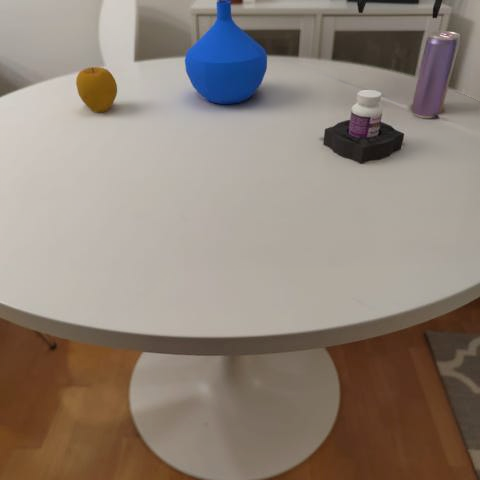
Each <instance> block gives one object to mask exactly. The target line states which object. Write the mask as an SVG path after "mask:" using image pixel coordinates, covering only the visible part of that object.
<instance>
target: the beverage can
mask: <svg viewBox="0 0 480 480" xmlns="http://www.w3.org/2000/svg"><path fill="white" fill-rule="evenodd" d="M460 39H461V34H460V33H458V32H455V31H449V30H435V31H429V33H428V37H427V38H426V41H425V45H424V49H423V54H422V59H421V63H420V68H419V72H418V77H417V81H416V85H415V91H414V95H413V100H412V104H411V109H410V110H411V113H412V115H413V116H415V117H417V118H419V119H421V118H422V119H435V118H437V117H439V115H438V114H441V113H442V112H443V107H444V103H445V99H446V96H447V93H448V88H449V85H450V81H451V77H452V73H453V70H454V67H455V66H454V65H455V61H456V58H457V55H458V51H459V47H460V43H461V41H460Z"/></svg>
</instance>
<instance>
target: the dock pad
mask: <svg viewBox="0 0 480 480" xmlns="http://www.w3.org/2000/svg"><path fill="white" fill-rule="evenodd" d="M349 125H350V119H346V120H343V121H340V122H337V123H336V124H334V125H333V126H330V127H327V128H324V135H323V145H324V146H326V147H328V148H329V149H331V151H332V152H333V153H334V154H337V155H338V156H340V157H342V158H345V159H349V160H353V161H355V162H357V163H358V164H361V165H362V164H364V163H367V162H370V161H378V160H382V159H385V158H388V157H389V156H391V155H392V154H393V153H395V152H398V151H401V150H402V147H403V142H404V137H405V133H404V132H402V131H400V130H397V129H395V128H394V127H393V126H392V125H391V124H388V123H385V122H383V121H381V123H380V129H379V134H378V136H377V137H374V138H359V137H355V136H352V135H350V134H349Z"/></svg>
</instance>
